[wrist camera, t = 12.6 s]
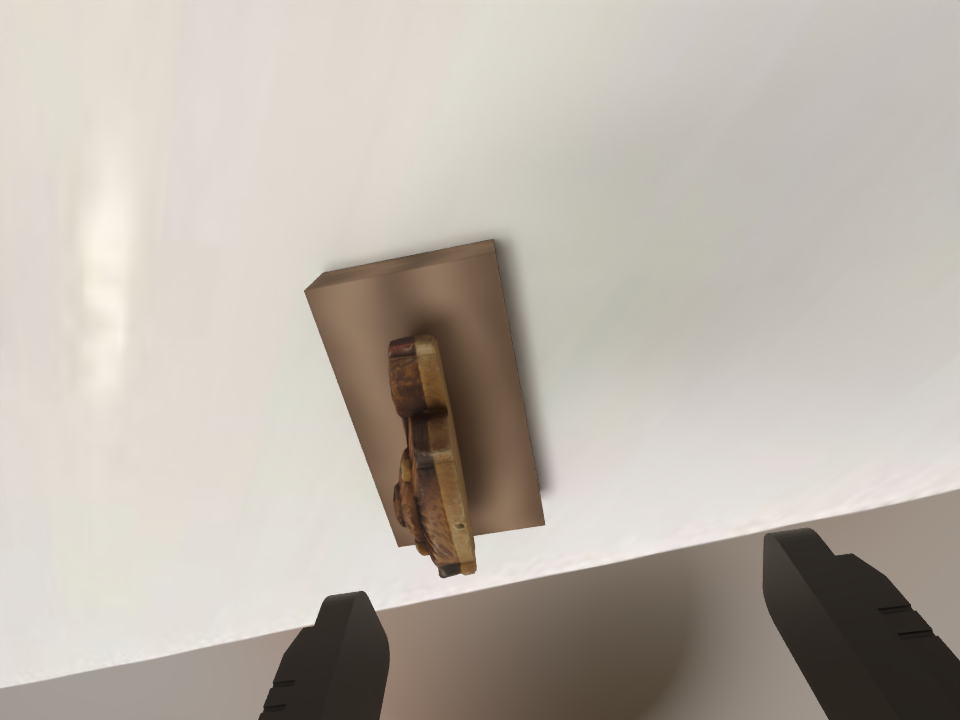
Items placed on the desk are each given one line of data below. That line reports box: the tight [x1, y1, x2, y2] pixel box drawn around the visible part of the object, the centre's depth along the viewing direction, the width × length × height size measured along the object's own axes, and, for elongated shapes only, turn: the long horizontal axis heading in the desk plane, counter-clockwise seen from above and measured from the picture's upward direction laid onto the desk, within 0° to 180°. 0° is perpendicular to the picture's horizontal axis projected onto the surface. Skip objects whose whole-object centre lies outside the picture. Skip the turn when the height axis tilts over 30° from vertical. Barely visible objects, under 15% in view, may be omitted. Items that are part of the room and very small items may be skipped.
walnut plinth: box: [304, 239, 545, 547], centre depth 36 cm, size 12×22×4 cm, turn 11°
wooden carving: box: [388, 335, 477, 578], centre depth 30 cm, size 16×5×10 cm, turn 12°
